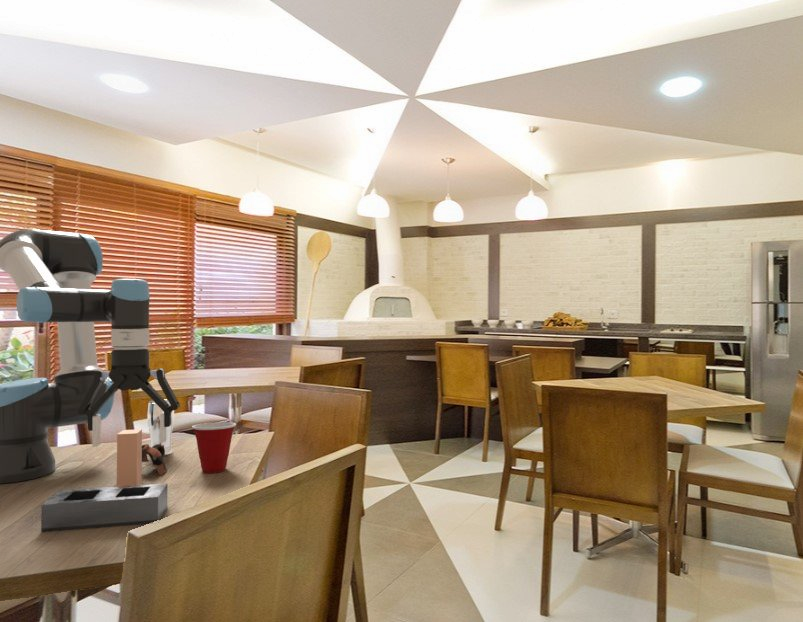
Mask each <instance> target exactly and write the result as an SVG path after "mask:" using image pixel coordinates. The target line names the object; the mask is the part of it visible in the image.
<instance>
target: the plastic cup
mask: <svg viewBox="0 0 803 622" xmlns="http://www.w3.org/2000/svg"><path fill="white" fill-rule="evenodd" d="M236 426H237V423H236V422H232V421H231V422H229V421H226V422H225V421H224V422H222V421H220V422H204V423H198V424H194V425H192V426H191V428H192V429H193V431H194V435H195V439H196V445H197V450H198V456H199V457H198V458H199V460H200V467H201V470H202V472H203V473H204V474H217V473H220V472H221V473H222V472H223V471H225V470H226V467H227V465H228V459H229V458H228V457H229V455H230V449H231V443H232V438H233V434H234V429H235V428H236Z"/></svg>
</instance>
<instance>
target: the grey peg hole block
mask: <svg viewBox="0 0 803 622" xmlns="http://www.w3.org/2000/svg"><path fill="white" fill-rule="evenodd" d="M40 508H41V512H40V513H41V515H40V517H41V518H40V519H41V522H40V523H41V525H40V526H41V530H40V532H41V533H44V532H45V533H47V532H57V531H59V532H60V531H70V530H81V529H82V530H84V529H85V530H86V529H94V528H95V529H96V528H109V527H120V526H133V525H134V526H135V525H146V524H148V523H149V524H152V523H151V522H154V521H157V520H159V521H160V520H161V519H162V517H163V515H164V514H165V512H166V510H167V509H168V482H167V483H153V484H142V485H135V486H119V487H117V486H105V487H92V488H91V487H89V488H88V487H87V488H73V489H60V490H58V491H57V492H56V493H55V494H54V495H52V496H51V497H50V498H48V499H47V500H46V501H44V502H43V503H42V504H41V507H40ZM46 531H47V532H46Z"/></svg>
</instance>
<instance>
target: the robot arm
mask: <svg viewBox="0 0 803 622" xmlns="http://www.w3.org/2000/svg"><path fill="white" fill-rule="evenodd" d="M103 261H104V259H103V251H102V248H101V245H100V243H99V241H98V240H97V239H96V238H95V237H94V236H92V235H91V234H90V235H89V234H84V233H79V232H66V231H57V230H56V231H55V230H46V229H38V228H25V229H21V230H20V229H19V230H16V231H13V232H10V233H9V234H7V235H6V236H4V237H3V238H2V239H0V270H2V271H3V272H5V273H7V274H8V275H9V276H10V277H11V279H12V280H13V282H14V284H15V286H16V288H17V289H18V293H17V296H16V311H17V316H18V318H19V320H21V321H22V322H25V323H38V324H46V323H56V324H57V337H58V338H57V339H58V350H59V351H58V352H59V353H58V354H59V365H60V370H59V371H58V372H57V373H56V374H54V379H53V380H54V382H50V381H49V380H48V378H47V377H33V378H26V379H25V378H24V379H18V380H14V381H9V382H5V383H2V384H0V484H9V483H18V482H23V481H28V480H33V479H37V478H41V477H45V476H47V475H49V474H51V473H53V472H54V471H55V470H56V458H55V455H54V453H53V451H52V448H51V446H50V444H49V441H48V432H49V431H48V430H49V429H52V428H59V427H65V426H67V427H68V426H74V425H81V424H87V430H88V431H89V432H90V431H91V432H92V447H93V448H94V447H95V448H97V447H98V446H99V445H101V443H102V442H101V439H102V438H101V436H102V427H101V426H102V425H101V424H102V423H101V422H102V421H103V420H105V419H106V418H107V417H108V416H109V415H110V414H111V411H112V408H113V405H114V401H115V394H116V392H117V391H119V390H120V391H122V392H123V391H128V390H131V391H138V390H140V389H141V391H143V392H145V394H146V395H148V397H149V398H150V399H151V401H154V402H155V403H156V404H157V405H158V406H159V407H160V408H161V409H162V410H163V411H164V412H162V413H160V443H164V442H165V441H166V427H169V426H170V425H171V412H172V411H173V410H174V411H175V410H177V409H179V408H180V407H181V404H180V401H178V398H177V396H176V394H175V393H174V391H173V389H172V387H171V385H170V383H169V382H168V380H167V378H166V373H165V369H164V368H159V369H154V370H153V369H152V370H151V368H150V350H149V348H147V347H149V346H150V299H151V295H150V287H149V282H148V281H147V280H145V279H141V278H140V279H138V278H137V279H136V278H116V279H113V280H112V282H111V286H110V287H111V288H110V289H96V288H95V289H92V284H93V283H94V282H95V281H96V280H97V276H98V275H100V274H101V273H102V270H103ZM95 323H111V324H110V326H111V327H110V328H111V331H110V332H111V333H110V338H111V339H110V340H111V344H110V345H111V348H114V349H112V350H111V351H110V352H111V353H110V356H111V357H110V362H111V363H110V366H111V368H110V371H106V370H104V369H103V368H101V367H100V366H99V365H98V357H97V355H98V354H97V345H96V333H95ZM151 377H153V379H154V380H157V382H158V385H159V386H160V388H161V390H162V392H163V393H164V396H165V398H166V399H164V398H163V397H162V396H161V395H160V394H159V392H158V391H157V390H156V389H155V388H154V387H153V385H152V384H151V383H150V382H149V381H148V380H149V379H150V378H151ZM165 400H168V401H169V403H170V405H169V404H168V403H167V402H166V401H165Z"/></svg>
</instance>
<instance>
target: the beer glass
mask: <svg viewBox="0 0 803 622" xmlns="http://www.w3.org/2000/svg"><path fill="white" fill-rule="evenodd" d="M164 400H165V401H166V402H167V403H168V404H169V405H170V403H169V401H168V399H164ZM147 406H148V408H147V427H148V432H149V439H150V445H149V446H150V447H153V446H155V445H157V444H160V445H162V446H163V447H164V449H165V455H164V457H165V456H168V455H171V454H172V453H173V448H172V434H173V427H174V422H175V410H173V411H172V412H171V425H170V426H169V427H166V441H165V442H164V443H160V413H162V412H164V411H163V410H162V409H161V408H160V407H159V406H158V405H157V404H156V403H155V402H154V401H153V400H151V401H149V402H148V405H147Z"/></svg>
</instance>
